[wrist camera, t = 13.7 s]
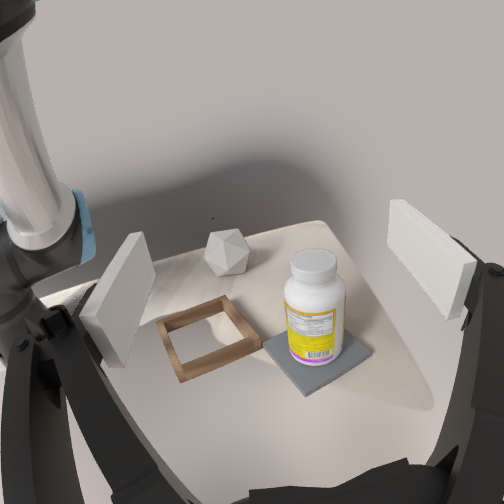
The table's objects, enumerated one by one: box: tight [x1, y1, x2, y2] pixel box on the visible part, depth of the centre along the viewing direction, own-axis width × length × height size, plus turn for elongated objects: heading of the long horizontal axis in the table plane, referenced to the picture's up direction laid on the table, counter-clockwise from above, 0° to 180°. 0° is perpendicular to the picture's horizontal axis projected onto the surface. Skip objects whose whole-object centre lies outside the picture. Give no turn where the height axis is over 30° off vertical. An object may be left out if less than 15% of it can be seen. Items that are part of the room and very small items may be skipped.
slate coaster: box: [262, 329, 372, 397], centre depth 36 cm, size 10×10×1 cm
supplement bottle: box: [284, 249, 346, 366], centre depth 32 cm, size 7×7×13 cm
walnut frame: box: [156, 295, 262, 383], centre depth 40 cm, size 12×12×2 cm
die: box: [203, 229, 250, 277], centre depth 55 cm, size 8×9×10 cm
